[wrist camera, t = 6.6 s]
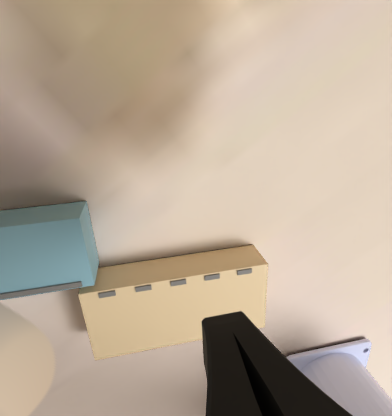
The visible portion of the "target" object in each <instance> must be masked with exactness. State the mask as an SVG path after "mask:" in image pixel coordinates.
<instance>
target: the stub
mask: <svg viewBox="0 0 392 416" xmlns="http://www.w3.org/2000/svg"><path fill="white" fill-rule="evenodd" d="M98 265H99V258H98V253H97V248H96V244H95V239H94V234H93V229H92V225H91V220H90V215H89V210H88V206H87V201H82V202H73V203H64V204H55V205H46V206H38V207H29V208H20V209H11V210H2V211H0V300H5V299H11V298H17V297H24V296H30V295H36V294H43V293H49V292H55V291H62V290H68V289H74V288H81V287H87V286H93V285H95V280H96V275H97V270H98Z"/></svg>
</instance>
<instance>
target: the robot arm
mask: <svg viewBox="0 0 392 416" xmlns="http://www.w3.org/2000/svg"><path fill="white" fill-rule="evenodd" d="M202 338H203V354H204V365H205V370H206V376H207V402H206V416H392V399H391V398H390V397H389V396H388V394H387V393H386V392H385V391H384V390H383V388H382V387H381V386H380V385H379V384H378V382H377V381H376V380H375V379H374V377H373V376H372V375H371V374H370V373H369V371H368V370H367V369H366V365H367V361H368V357H369V353H370V349H371V345H372V343H371V342H370V341H369V340H368V339H362V340H357V341H352V342H348V343H343V344H339V345H334V346H329V347H325V348H320V349H316V350H311V351H306V352H302V353H297V354H292V355H289V356H287V357H285V356H284V355H283V354H282V353H281V352H280V351H279V350H278V349H277V348H276V347H275V346H274V345H273V344H272V343H271V342H270V341H269V340H268V339H267V338H266V337H265V336H264V335H263V334H262V332H261V331H260V330H259V329H258V328H257V327H256V326H255V325H254V324H253V323H252V322H251V320H250V319H249V318H248V317H247V316H246V315H245V314H244V313H243V312H242V311H238V312H233V313H228V314H222V315H217V316H212V317H206V318H204V319H203V320H202Z"/></svg>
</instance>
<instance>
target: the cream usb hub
mask: <svg viewBox="0 0 392 416" xmlns="http://www.w3.org/2000/svg"><path fill="white" fill-rule="evenodd" d="M267 273H268V263H267V262H266V261H265V259H264V258H263V257H262V256H261V254H260V253H259V252H258V250H257V249H256V248H255V246H254V245H248V246H242V247H235V248H228V249H221V250H215V251H208V252H201V253H195V254H188V255H181V256H174V257H168V258H161V259H154V260H147V261H141V262H134V263H127V264H121V265H114V266H107V267H100V268H98V270H97V275H96V280H95V285H93V286H87V287H81V288H80V290H79V293H78V296H79V300H80V304H81V308H82V312H83V315H84V319H85V323H86V327H87V331H88V335H89V339H90V343H91V347H92V351H93V354H94V358H95V361H96V360H101V359H106V358H111V357H116V356H121V355H126V354H131V353H136V352H141V351H146V350H151V349H156V348H161V347H166V346H171V345H177V344H182V343H187V342H192V341H197V340H202V339H203V338H202V320H203V319H204V318H206V317H212V316H217V315H222V314H228V313H233V312H238V311H242V312H243V313H244V314H245V315H246V316H247V317H248V318H249V319H250V320H251V322H252V323H253V324H254V325H255V326H256V327H257V328H263V327H265V311H266V292H267Z"/></svg>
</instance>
